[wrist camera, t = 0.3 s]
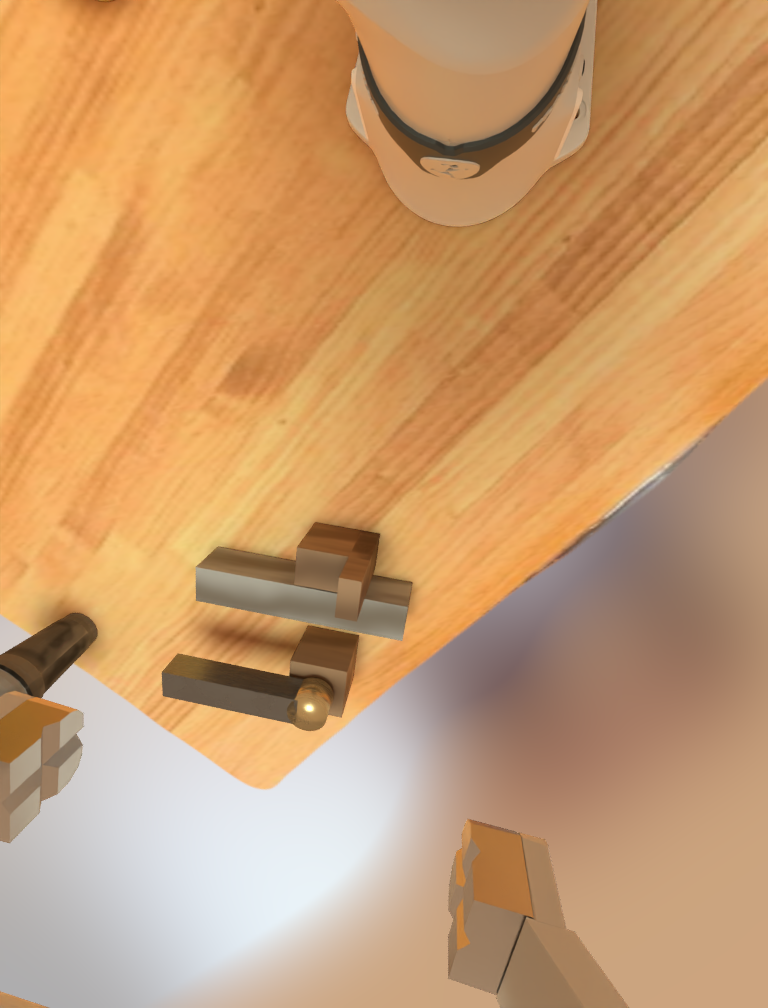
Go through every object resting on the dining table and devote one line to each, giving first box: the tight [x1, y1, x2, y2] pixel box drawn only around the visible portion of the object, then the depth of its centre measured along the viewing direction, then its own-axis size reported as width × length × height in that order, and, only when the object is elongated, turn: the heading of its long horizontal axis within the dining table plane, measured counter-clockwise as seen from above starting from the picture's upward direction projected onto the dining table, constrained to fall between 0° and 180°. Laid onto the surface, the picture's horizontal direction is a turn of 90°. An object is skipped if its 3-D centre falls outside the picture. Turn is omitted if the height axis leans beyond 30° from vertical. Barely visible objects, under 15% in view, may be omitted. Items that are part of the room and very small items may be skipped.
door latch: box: [196, 522, 412, 718], centre depth 50 cm, size 19×22×10 cm
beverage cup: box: [0, 613, 97, 698], centre depth 52 cm, size 7×7×20 cm
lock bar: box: [162, 654, 334, 731], centre depth 50 cm, size 17×4×3 cm, turn 83°
